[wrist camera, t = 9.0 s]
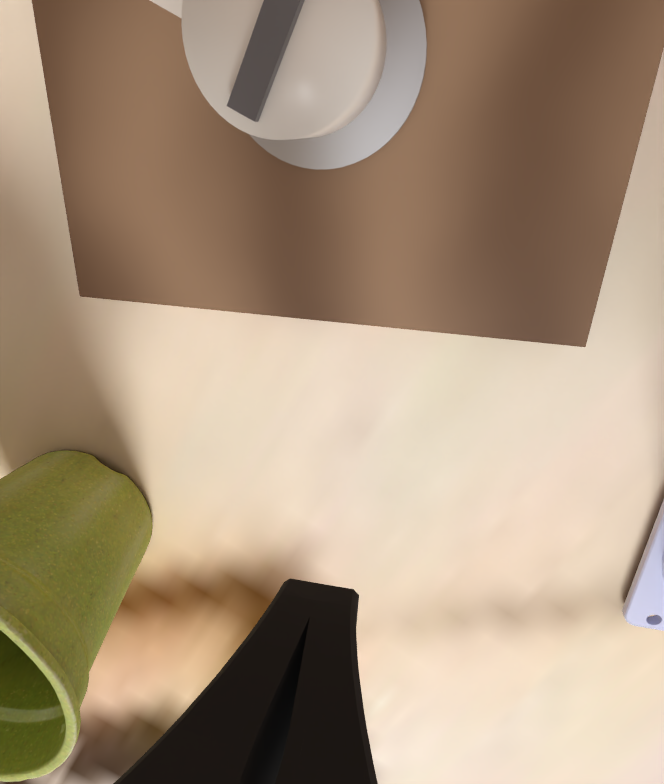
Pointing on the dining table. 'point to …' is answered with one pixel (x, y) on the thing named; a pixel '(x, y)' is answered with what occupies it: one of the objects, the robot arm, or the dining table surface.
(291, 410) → the dining table surface
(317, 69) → the gray-tipped lever post
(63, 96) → the brown rectangular board
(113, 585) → the plant pot
